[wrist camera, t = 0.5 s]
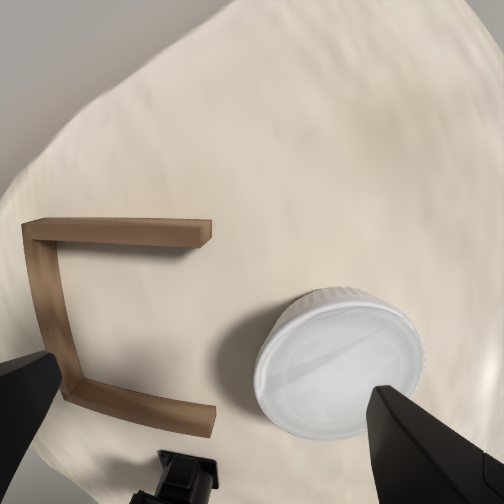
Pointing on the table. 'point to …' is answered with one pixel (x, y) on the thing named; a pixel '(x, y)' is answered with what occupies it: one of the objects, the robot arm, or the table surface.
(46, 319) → the walnut dock
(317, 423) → the ramekin
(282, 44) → the table surface
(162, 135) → the table surface
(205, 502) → the robot arm
